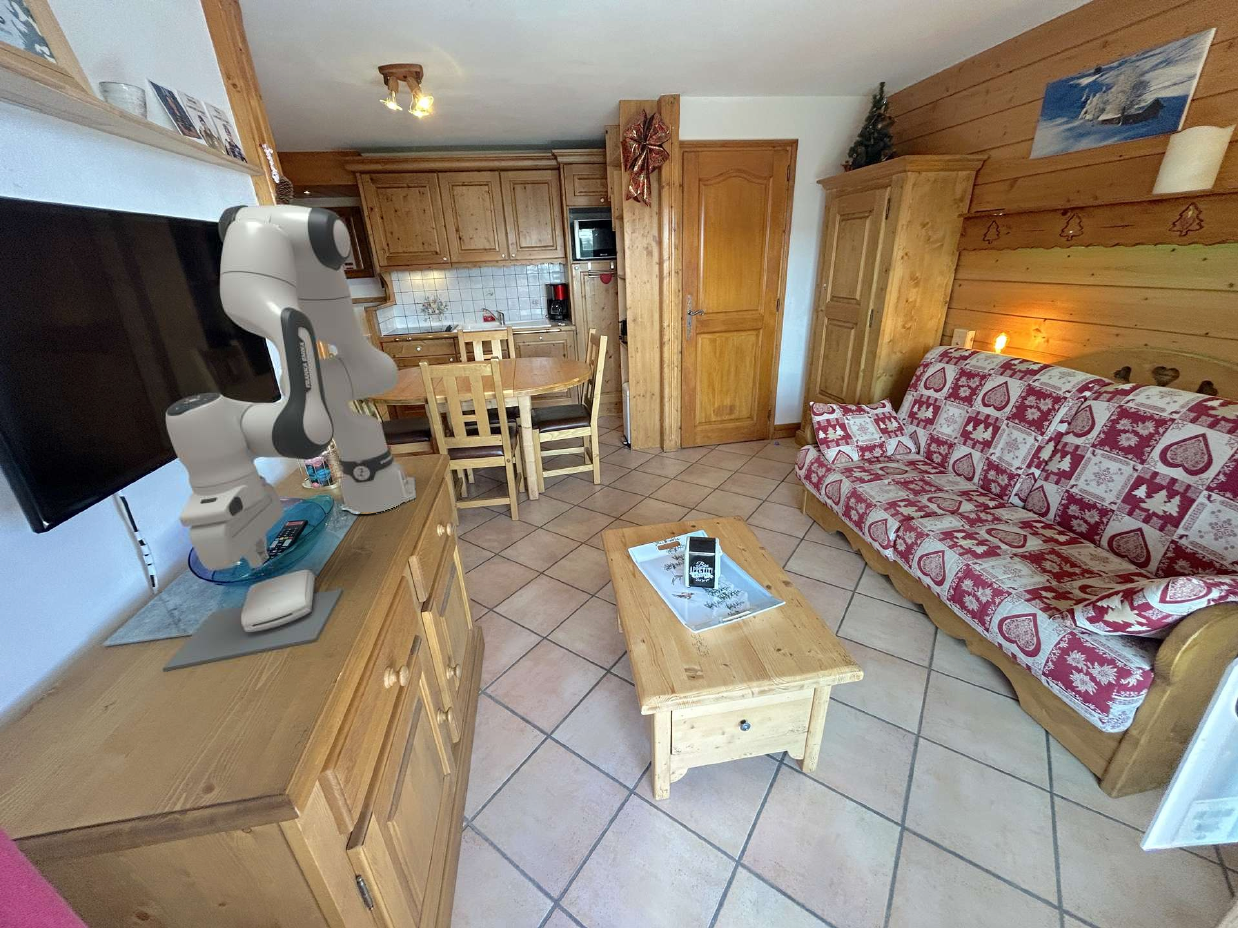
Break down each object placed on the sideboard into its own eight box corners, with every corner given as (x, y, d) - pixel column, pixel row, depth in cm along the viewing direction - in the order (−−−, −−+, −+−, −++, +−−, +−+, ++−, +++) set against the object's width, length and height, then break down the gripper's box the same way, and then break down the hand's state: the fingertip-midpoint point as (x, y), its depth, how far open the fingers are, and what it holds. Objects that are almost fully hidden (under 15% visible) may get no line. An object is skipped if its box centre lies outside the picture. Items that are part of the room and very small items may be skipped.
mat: (214, 614, 88) (212, 612, 87) (343, 591, 91) (342, 588, 91) (163, 671, 75) (162, 668, 74) (316, 641, 78) (315, 638, 78)
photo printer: (311, 565, 92) (306, 599, 81) (318, 584, 93) (314, 619, 83) (246, 583, 87) (232, 621, 77) (255, 602, 89) (242, 642, 79)
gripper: (241, 473, 89) (267, 538, 94) (171, 523, 70) (208, 600, 75) (279, 468, 90) (302, 532, 95) (219, 515, 71) (252, 592, 76)
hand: (260, 563), depth 85 cm, fingers closed
